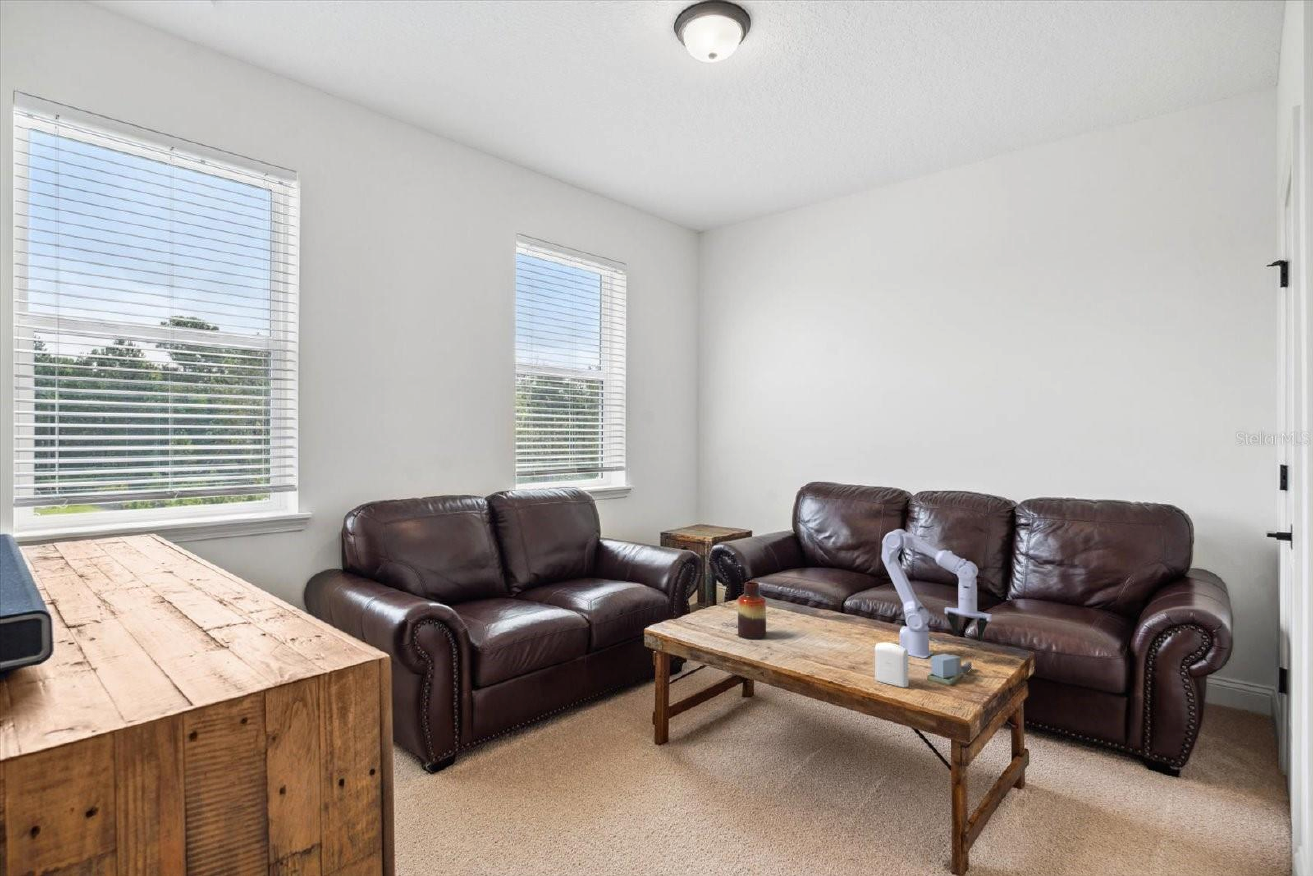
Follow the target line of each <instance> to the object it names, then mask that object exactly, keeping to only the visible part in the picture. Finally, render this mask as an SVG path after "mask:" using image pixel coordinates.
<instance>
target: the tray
mask: <svg viewBox="0 0 1313 876" xmlns="http://www.w3.org/2000/svg"><path fill="white" fill-rule="evenodd" d="M962 676H963V674H962V671H961V673H958V674H956V675H955V676H951V677H947V678H941V677H939V676H936V675H934V674H931V672H930V673H928V674H927V676H926V681H929V682H933V683H936V682H938V683H937V684H941V685H945V686H950V687H951V686H952V685H953V684H954V683H956V682H957V681H958V680H959V679H961V677H962ZM958 678H959V679H958ZM957 679H958V680H957ZM956 680H957V681H956ZM953 682H954V683H953Z"/></svg>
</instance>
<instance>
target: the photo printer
mask: <svg viewBox="0 0 1313 876" xmlns="http://www.w3.org/2000/svg"><path fill="white" fill-rule="evenodd" d="M874 679H875V681H876V682H880V683H884V684H888V685H891V686H896V687H900V688H903V689H904V688H908V687H909V655H908V651H907V649H905V648H904V647H902V646H899V644H897V643H893V642H885V641H884V642H877V643H876V644H875V647H874Z"/></svg>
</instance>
